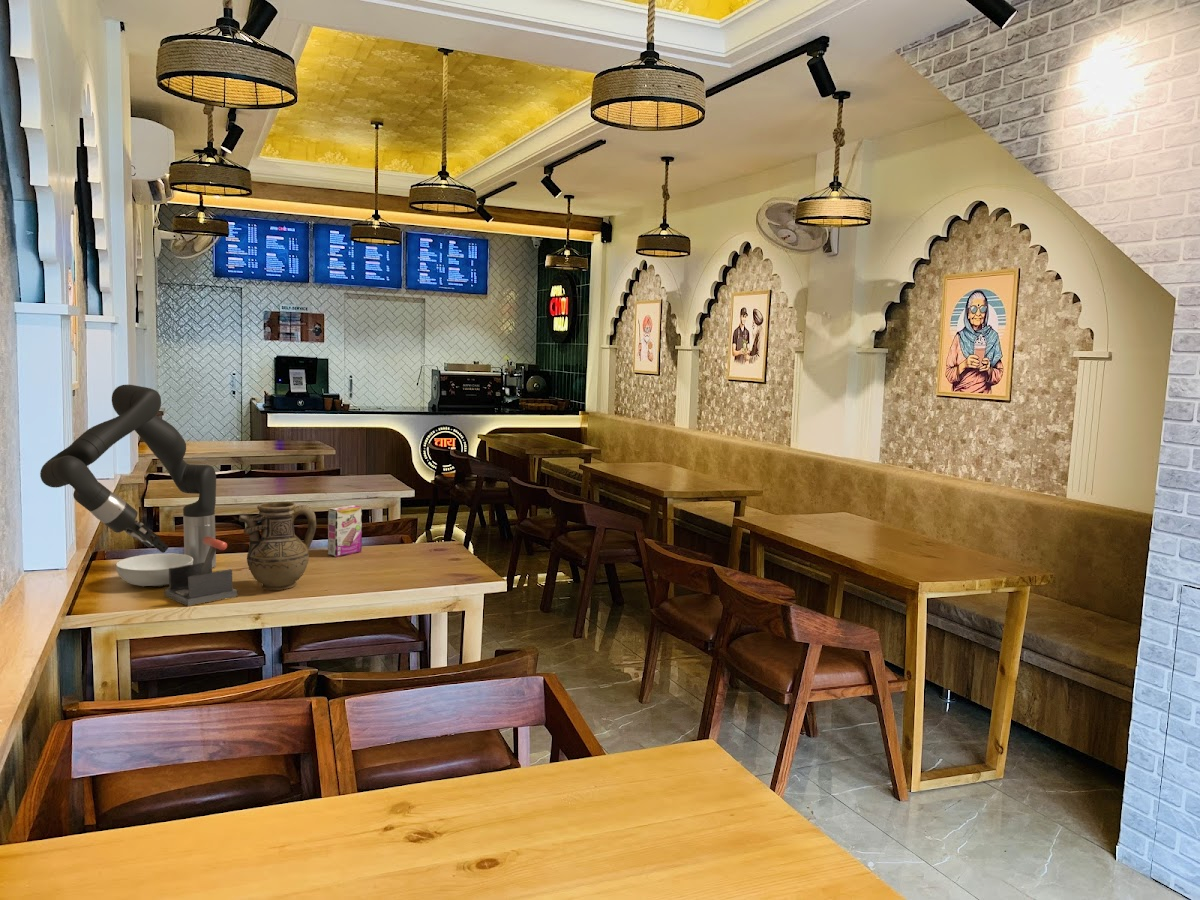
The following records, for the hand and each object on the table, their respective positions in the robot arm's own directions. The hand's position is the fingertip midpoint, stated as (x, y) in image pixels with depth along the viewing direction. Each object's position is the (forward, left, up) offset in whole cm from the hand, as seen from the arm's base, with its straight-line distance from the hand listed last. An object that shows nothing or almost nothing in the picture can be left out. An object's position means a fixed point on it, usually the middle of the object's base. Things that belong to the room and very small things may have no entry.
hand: (159, 547), depth 248 cm
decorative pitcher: (+5, +32, -16) cm, 36 cm away
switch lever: (0, +11, -12) cm, 16 cm away
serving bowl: (-24, +8, -16) cm, 30 cm away
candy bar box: (-19, +70, -16) cm, 74 cm away
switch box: (0, +11, -16) cm, 19 cm away
